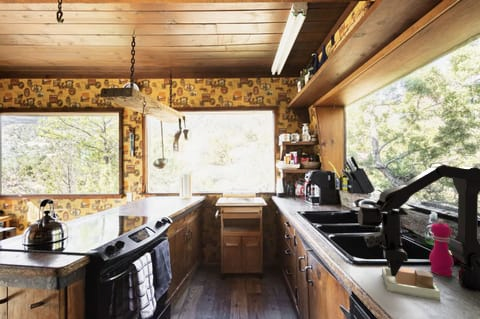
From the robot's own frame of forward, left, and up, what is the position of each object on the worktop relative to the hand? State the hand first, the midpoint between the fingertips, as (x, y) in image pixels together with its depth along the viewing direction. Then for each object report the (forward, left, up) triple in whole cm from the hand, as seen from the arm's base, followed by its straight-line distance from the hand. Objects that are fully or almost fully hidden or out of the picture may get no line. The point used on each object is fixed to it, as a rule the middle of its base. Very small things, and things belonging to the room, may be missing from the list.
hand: (391, 272), depth 87 cm
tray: (-4, +2, -3) cm, 6 cm away
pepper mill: (-18, -15, -3) cm, 24 cm away
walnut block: (-8, +4, -3) cm, 9 cm away
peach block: (-1, 0, -1) cm, 1 cm away
